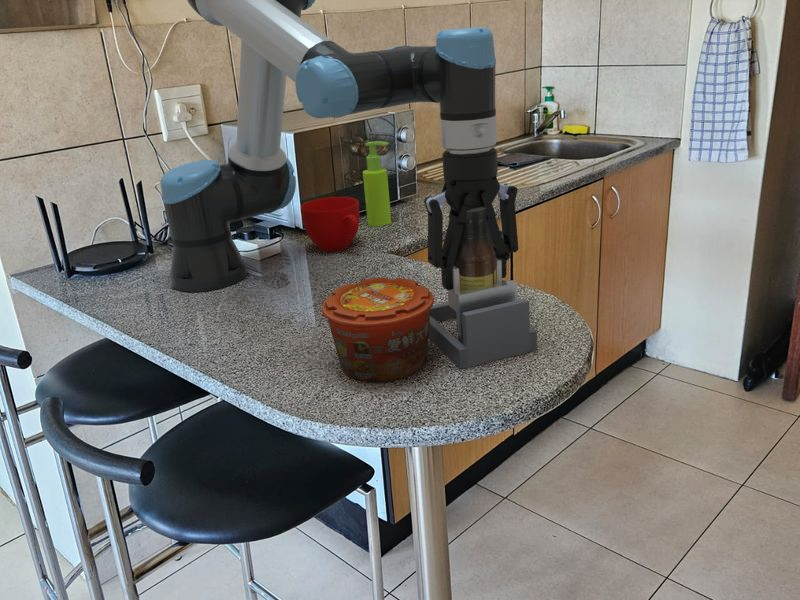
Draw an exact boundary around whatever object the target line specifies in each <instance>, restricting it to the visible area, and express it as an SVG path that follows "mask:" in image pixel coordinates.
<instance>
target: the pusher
mask: <svg viewBox="0 0 800 600" xmlns="http://www.w3.org/2000/svg"><path fill="white" fill-rule="evenodd" d="M455 294H456V313H457V318H456V326H457V327H456V329H457V330H456V331H457V340H458V341H459V342H460V343H462V344H463V325H462V313H464V312H468V311H472V310H477V309H481V308H486V307H490V306H494V305H499V304H503V303H507V302H512V301H516V300H518V282H516V281H515V280H514V279H513V280H507V281H504V282H503V281H502V283H498V284H493V285H489V286H485V287H479V288H475V289H470V290H466V291H461V292H457V293H455Z"/></svg>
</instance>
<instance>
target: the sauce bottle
mask: <svg viewBox="0 0 800 600" xmlns="http://www.w3.org/2000/svg"><path fill="white" fill-rule="evenodd" d="M486 215H487V213H486V207H483V206H482V207H477V208H471V209H470V210H469V211H467V212H466V219H467V222H466V224H465V225H464V227H463V231H462V235H461V239H460V243H459V247H458V251H457V255H456V259H455V263H454V266H455V267H457V268H458V269H459V280H460V292H461V291H466V290H470V289H475V288H479V287H485V286H489V285H493V284H497V276H496V266H495V251H494V248H493V246H492V245H491V243H490V241H489V240H488V239H487V237H486V234H487V232H486ZM455 319H457V313H456V318H455Z"/></svg>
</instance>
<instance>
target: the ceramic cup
mask: <svg viewBox="0 0 800 600" xmlns="http://www.w3.org/2000/svg"><path fill="white" fill-rule="evenodd" d="M300 215H301V219H302V224H303V227H304V230H305V232H306V234H307V236H308V237H309V239H310V240H311V242H312V243H313V244H314V245H315V246H316V247H318V248H319V249H320V250H321V251H322V252H338V251H342V250H345V249H347V248H349V247H350V245H351V244H352V242H353V240H354V239H355V237H356V235H357V233H358V230H359V224H360V202H359V199H357V198H354V197H351V196H350V197H349V196H331V197H322V198H317V199H313V200H309V201H306V202H304V203H302V204H301V206H300Z"/></svg>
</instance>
